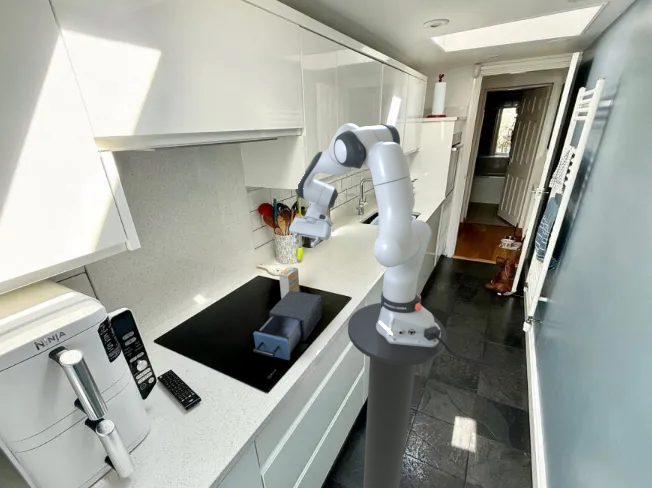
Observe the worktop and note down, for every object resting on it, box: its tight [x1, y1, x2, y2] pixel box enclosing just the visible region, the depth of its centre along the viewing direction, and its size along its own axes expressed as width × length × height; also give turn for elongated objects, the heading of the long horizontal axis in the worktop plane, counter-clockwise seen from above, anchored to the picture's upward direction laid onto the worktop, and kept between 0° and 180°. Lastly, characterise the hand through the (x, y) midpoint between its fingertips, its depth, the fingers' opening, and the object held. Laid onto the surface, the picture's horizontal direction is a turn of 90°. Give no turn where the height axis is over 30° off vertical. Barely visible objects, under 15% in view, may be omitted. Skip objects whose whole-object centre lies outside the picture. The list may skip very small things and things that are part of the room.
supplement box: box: [278, 266, 300, 300], centre depth 135 cm, size 8×5×13 cm, turn 151°
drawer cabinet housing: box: [268, 291, 323, 342], centre depth 117 cm, size 17×14×10 cm
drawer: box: [252, 315, 303, 361], centre depth 105 cm, size 20×12×8 cm, turn 158°
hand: (303, 245), depth 137 cm, fingers open, 8 cm apart
